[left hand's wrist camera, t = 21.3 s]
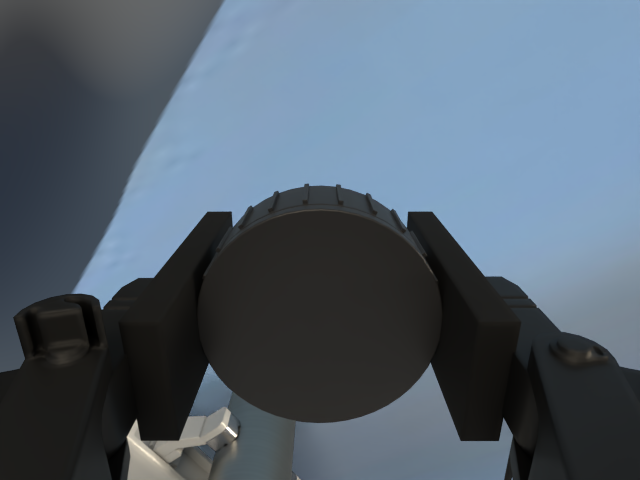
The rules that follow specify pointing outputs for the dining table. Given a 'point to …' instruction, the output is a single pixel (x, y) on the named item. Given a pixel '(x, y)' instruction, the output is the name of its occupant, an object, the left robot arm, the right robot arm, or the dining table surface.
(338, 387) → the lid
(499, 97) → the dining table surface
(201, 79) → the dining table surface
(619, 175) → the dining table surface
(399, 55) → the dining table surface
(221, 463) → the grey cylinder
